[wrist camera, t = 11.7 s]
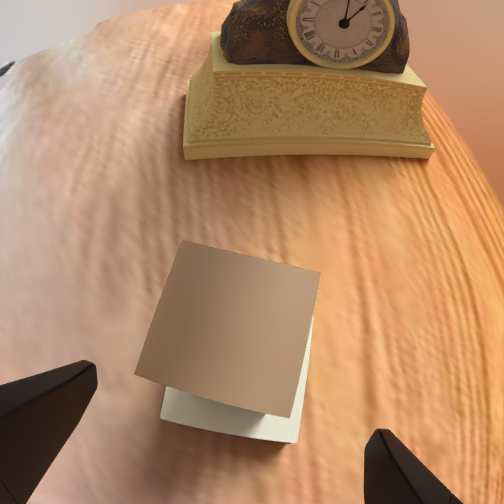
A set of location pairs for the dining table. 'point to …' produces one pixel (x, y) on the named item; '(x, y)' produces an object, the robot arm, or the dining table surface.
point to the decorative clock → (307, 83)
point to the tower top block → (236, 413)
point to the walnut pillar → (231, 329)
